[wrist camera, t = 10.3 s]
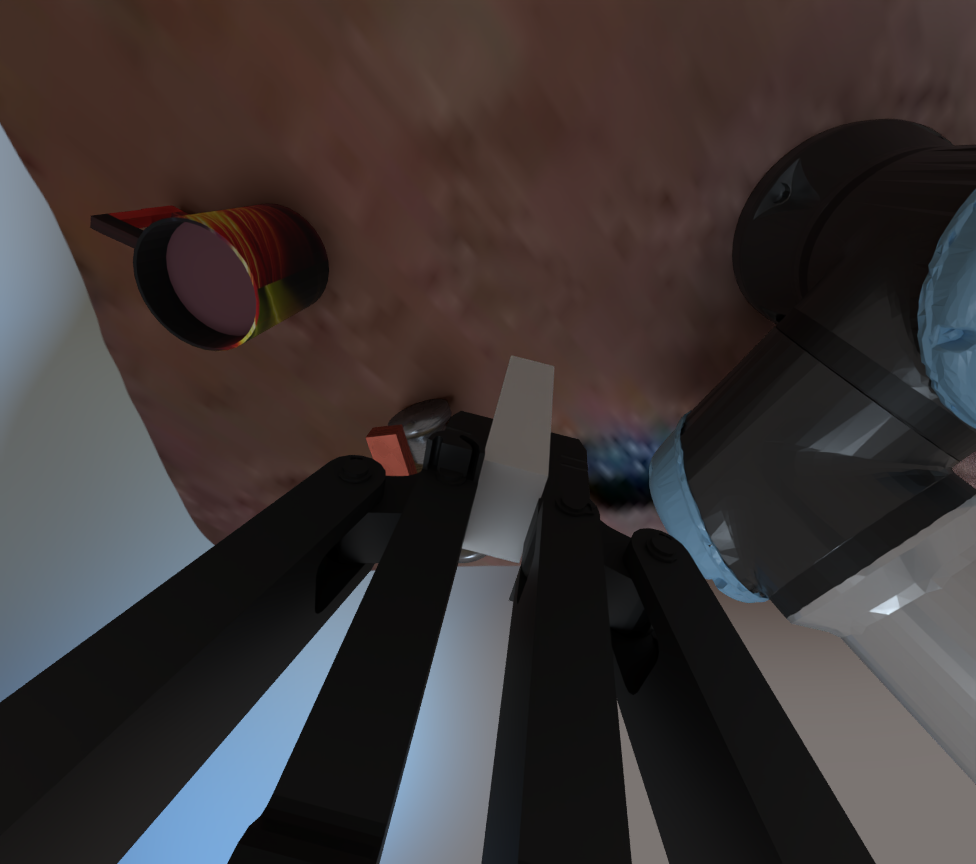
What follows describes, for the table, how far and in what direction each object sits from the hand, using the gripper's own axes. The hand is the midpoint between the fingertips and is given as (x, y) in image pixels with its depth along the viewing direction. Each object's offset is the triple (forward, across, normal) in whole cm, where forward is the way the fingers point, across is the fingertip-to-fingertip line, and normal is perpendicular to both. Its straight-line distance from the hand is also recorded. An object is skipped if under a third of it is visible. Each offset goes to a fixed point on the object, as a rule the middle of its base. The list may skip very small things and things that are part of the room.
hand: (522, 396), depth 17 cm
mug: (+30, -26, -7) cm, 40 cm away
